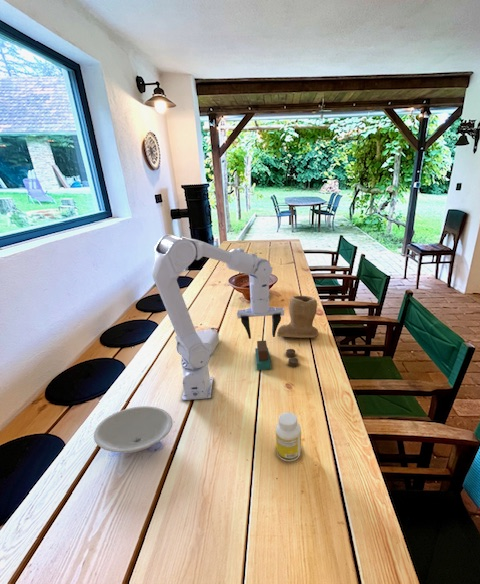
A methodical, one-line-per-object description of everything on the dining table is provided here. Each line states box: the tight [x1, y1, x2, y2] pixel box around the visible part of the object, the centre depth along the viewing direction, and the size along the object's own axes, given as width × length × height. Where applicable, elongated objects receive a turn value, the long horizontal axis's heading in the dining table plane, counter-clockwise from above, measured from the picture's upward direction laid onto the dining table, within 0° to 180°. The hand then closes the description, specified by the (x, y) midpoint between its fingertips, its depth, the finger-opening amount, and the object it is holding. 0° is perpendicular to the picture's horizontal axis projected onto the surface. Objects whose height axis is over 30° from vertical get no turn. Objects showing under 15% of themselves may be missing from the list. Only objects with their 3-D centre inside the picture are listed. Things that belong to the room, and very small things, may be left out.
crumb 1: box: [285, 348, 296, 358], centre depth 110 cm, size 3×3×2 cm
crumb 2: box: [287, 357, 299, 368], centre depth 105 cm, size 3×3×2 cm
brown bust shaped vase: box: [276, 295, 319, 339], centre depth 121 cm, size 15×12×15 cm
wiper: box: [254, 339, 272, 371], centre depth 106 cm, size 10×4×6 cm, turn 5°
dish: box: [93, 405, 173, 454], centre depth 75 cm, size 18×14×5 cm
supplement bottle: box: [275, 411, 302, 462], centre depth 70 cm, size 5×5×10 cm
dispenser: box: [195, 328, 220, 356], centre depth 118 cm, size 5×9×15 cm
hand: (261, 336), depth 103 cm, fingers open, 7 cm apart
